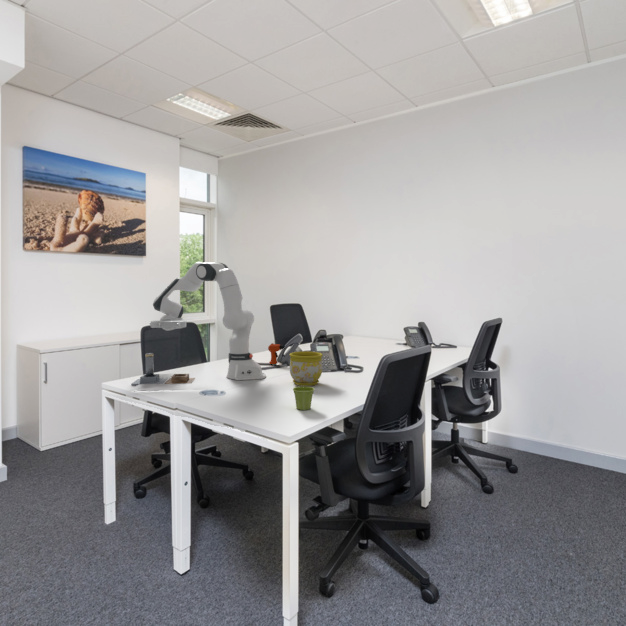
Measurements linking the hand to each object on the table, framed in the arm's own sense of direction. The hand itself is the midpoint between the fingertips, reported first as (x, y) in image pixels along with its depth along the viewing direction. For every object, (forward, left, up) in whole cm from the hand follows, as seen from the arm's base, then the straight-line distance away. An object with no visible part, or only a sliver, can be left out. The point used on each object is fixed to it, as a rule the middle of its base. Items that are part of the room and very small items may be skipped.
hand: (169, 325), depth 249 cm
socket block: (-9, +16, -30) cm, 35 cm away
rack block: (+7, +16, -30) cm, 35 cm away
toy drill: (-65, -31, -30) cm, 78 cm away
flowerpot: (-77, +24, -30) cm, 86 cm away
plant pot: (-71, +72, -30) cm, 105 cm away
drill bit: (+7, +16, -29) cm, 34 cm away
